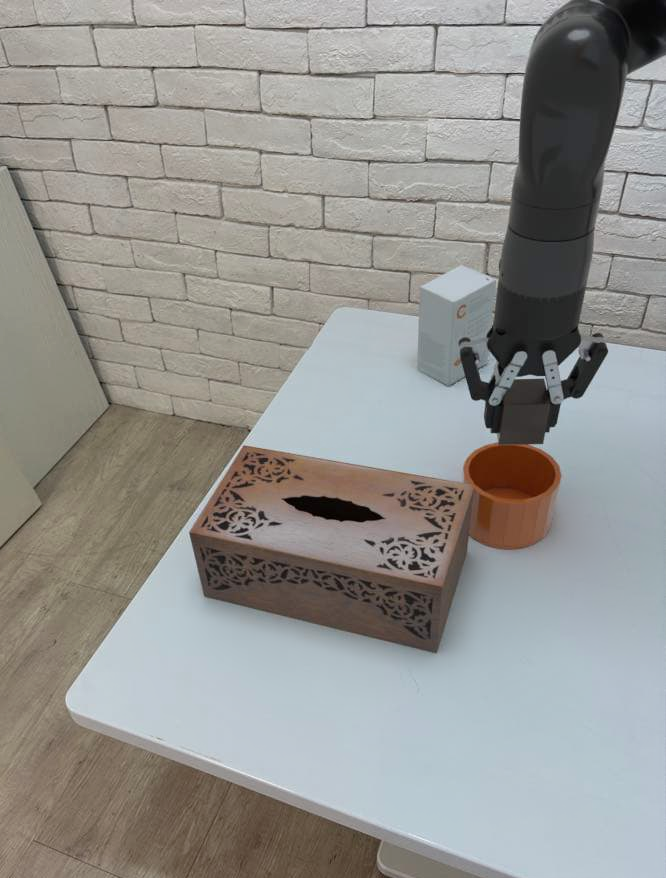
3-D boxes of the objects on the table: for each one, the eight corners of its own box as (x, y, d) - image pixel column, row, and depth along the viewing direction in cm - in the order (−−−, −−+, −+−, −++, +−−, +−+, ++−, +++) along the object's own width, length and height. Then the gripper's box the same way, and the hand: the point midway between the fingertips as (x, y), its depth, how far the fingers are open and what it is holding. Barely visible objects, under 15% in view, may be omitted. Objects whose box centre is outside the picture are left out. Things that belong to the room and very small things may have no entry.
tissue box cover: (204, 596, 88) (189, 532, 81) (253, 509, 97) (243, 445, 90) (436, 653, 80) (442, 587, 73) (466, 552, 89) (474, 485, 82)
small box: (455, 347, 117) (461, 263, 108) (488, 364, 114) (498, 278, 104) (415, 369, 114) (418, 285, 105) (448, 387, 111) (454, 301, 101)
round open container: (544, 487, 95) (553, 440, 90) (557, 549, 88) (568, 502, 83) (456, 488, 96) (460, 442, 91) (462, 549, 89) (467, 503, 84)
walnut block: (537, 418, 84) (544, 378, 81) (543, 444, 81) (550, 403, 78) (494, 419, 85) (499, 379, 81) (498, 445, 82) (504, 405, 78)
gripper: (463, 298, 69) (450, 452, 81) (638, 291, 67) (598, 450, 79) (457, 257, 74) (446, 408, 86) (619, 249, 72) (584, 405, 84)
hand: (518, 427), depth 83 cm, fingers closed on walnut block, 4 cm apart
